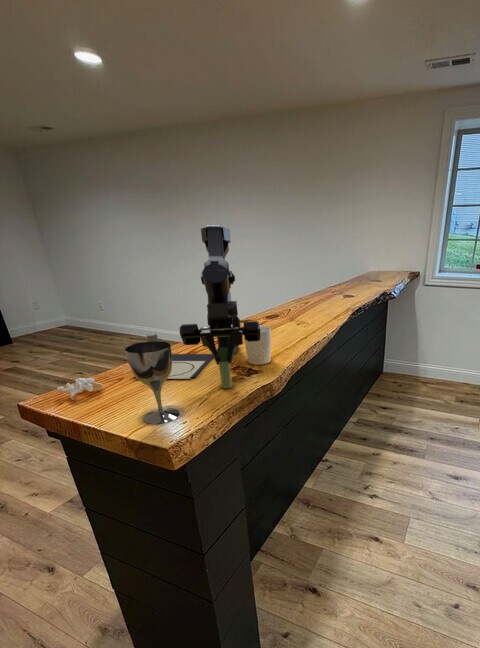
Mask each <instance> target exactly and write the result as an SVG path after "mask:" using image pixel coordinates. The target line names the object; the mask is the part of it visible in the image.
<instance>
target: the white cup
mask: <svg viewBox="0 0 480 648" xmlns="http://www.w3.org/2000/svg"><path fill="white" fill-rule="evenodd" d="M244 345H245V351H246V355H247V363H248V364H250V365H257V366H258V365H260V366H261V365H267V364H269V363H270V362H271V360H272V359H271V351H272V328H271V327H270V326H265V325H260V340H259V341H251V342H248V341H246V340H245V337H244Z"/></svg>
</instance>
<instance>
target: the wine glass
mask: <svg viewBox="0 0 480 648" xmlns="http://www.w3.org/2000/svg"><path fill="white" fill-rule="evenodd" d="M124 352H125V357H126V361H127V363H128V366H129V368H130V371H131V372H132V374H133V377H136V378H137V379H136V380H138V381H140V383H142V384H144V385H145V386H146V387H148V388H149V389H150V390H151V391H152V392H153V395H154V398H155V401H156V405H157V409H152V410H151V411H148V412H147V413H146V414H144V416H143V417H142V421H143V422H144V423H146V424H149V425H161V424H165V423H168V422H171V421H174V420H176V419H177V418H178V417H180V415H181V412H180V410H179V409H177V408H174V407H163V404H162V393H161V391H162V388H163V386H164V384H165V382H166V381H167V380H168V379H167V378H168V377H169V375H170V373H171V370H172V354H173V352H172V347H171V343H170V342H167V341H161V340H158V341H151V342H148V341H143V342H137V343H134V344H133V343H132V344H131V345H128V346H127V347H125V349H124Z"/></svg>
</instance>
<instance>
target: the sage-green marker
mask: <svg viewBox="0 0 480 648" xmlns="http://www.w3.org/2000/svg"><path fill="white" fill-rule="evenodd" d="M216 350H217V352H218V354H217V355H218V360H219V365H218V366H219V374H220V375H219V376H220V382H221V383H220V384H221V388H222V389H225V390H226V389H231V388H232V386H233V384H232V375H231V366H230V365H231V364H229V353H228V348H227V347H219V348H218V347H216Z"/></svg>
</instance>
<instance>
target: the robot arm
mask: <svg viewBox="0 0 480 648" xmlns="http://www.w3.org/2000/svg"><path fill="white" fill-rule="evenodd" d="M200 232H201V233H200V234H201V242H202V243H203V244H204V245H205V249H206V252H207V253H208V259H207V260H206V261H205V262H204V264H203V267H204V268H203V269H202V270H201V273H200V281H201V284H202V285H203V286H204V287H205V288H204V289H205V292H206V295H207V304H206V308H207V309H206V310H207V311H206V312H207V316H206V318H207V320H206V321H207V326H205V327H200V328H199V326H198V323H185V324H183V323H182V324H181V325H180V326H179V336H180V338H181V341H182V343H183V345H184V346H195V345H196V346H197V345H199V344H200V343H201V344H202V347H204V348H208V350H209V351H210V354H212V355H213V359H214V360H215V363H216V365H217V366H219V360H218V352H217V348H219V347H227V348H228V353H229V365H231V364H232V363H233V359H234V356H235V354H236V353H237V352H238V351H239V350H240V347H239V346H242V345H243V344H244V341H245V340H246V341H248V342H251V341H259V340H260V326H261V324H260V322H259V321H258V320H252V321H250V320H249V321H243V323H242V324H243V326H242V327H241V318H239V316H238V315H239V313H238V303H237V300H232V297H231V291H230V290H231V288H232V286H231V285H234V283H235V282H236V275H235V274H234V272H233V271H232V270H230V264H229V262H228V261H227V260H226V256H227V255H228V253H229V251H230V247H229V244H231V233H230V228H227V227H224V226H223V225H221V224H207V225H205V226H204V227H202V228H200ZM243 336H244V337H245V338H244V341H243ZM215 338H216V340H217V346H216V340H215Z"/></svg>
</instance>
